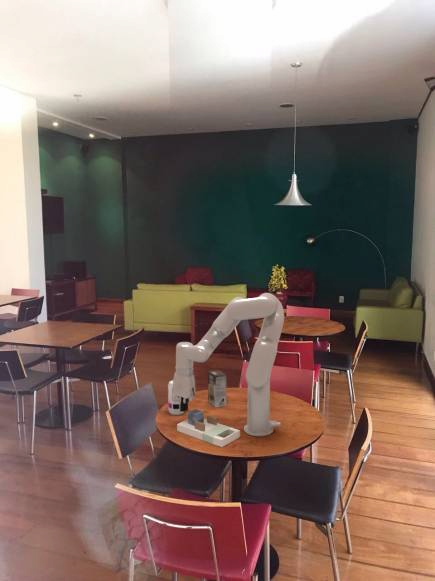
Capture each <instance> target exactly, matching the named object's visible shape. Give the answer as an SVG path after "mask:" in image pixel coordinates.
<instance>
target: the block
mask: <svg viewBox="0 0 435 581" xmlns="http://www.w3.org/2000/svg"><path fill="white" fill-rule="evenodd" d="M186 412H187V411H186ZM204 419H205V412H204V411H203V410H199V409H196V408H195V409H192V410H190V411H188V412H187V420H188V424H191V425H194V426H195V421H198V422H201V423H204Z"/></svg>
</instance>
